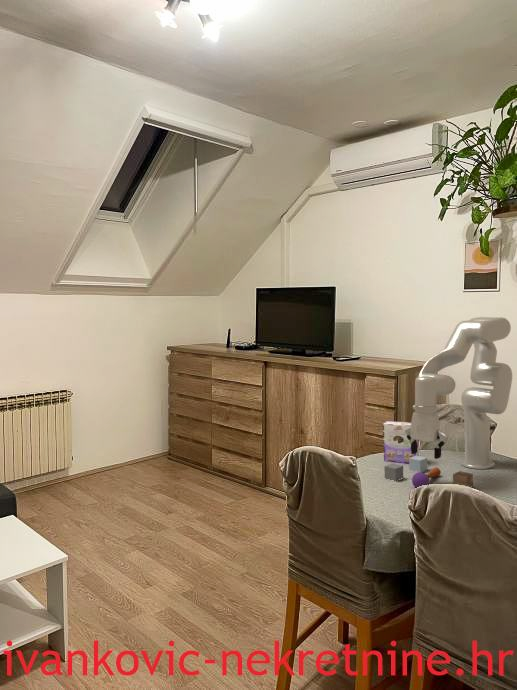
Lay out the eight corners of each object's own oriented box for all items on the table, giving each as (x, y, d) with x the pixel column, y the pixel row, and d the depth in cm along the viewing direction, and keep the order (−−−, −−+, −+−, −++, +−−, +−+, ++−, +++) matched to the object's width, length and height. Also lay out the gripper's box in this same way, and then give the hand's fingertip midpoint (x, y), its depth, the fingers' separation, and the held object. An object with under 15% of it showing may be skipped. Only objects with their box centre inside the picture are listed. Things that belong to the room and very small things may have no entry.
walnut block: (460, 484, 204) (460, 471, 203) (473, 487, 200) (473, 473, 200) (453, 487, 201) (452, 474, 200) (466, 490, 197) (465, 477, 196)
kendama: (445, 466, 213) (427, 477, 197) (442, 481, 213) (423, 493, 197) (430, 461, 216) (411, 471, 200) (427, 476, 217) (408, 487, 201)
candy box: (419, 461, 234) (418, 422, 233) (415, 464, 229) (415, 425, 228) (387, 457, 241) (386, 420, 240) (383, 461, 236) (382, 423, 235)
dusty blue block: (416, 467, 226) (416, 455, 225) (427, 470, 222) (427, 457, 222) (409, 470, 222) (409, 458, 222) (420, 473, 219) (420, 460, 218)
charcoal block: (392, 475, 217) (392, 463, 216) (403, 478, 213) (403, 465, 212) (384, 479, 213) (384, 466, 213) (395, 481, 210) (395, 468, 209)
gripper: (399, 408, 208) (399, 453, 209) (441, 414, 195) (441, 462, 196) (411, 405, 213) (411, 449, 214) (452, 411, 200) (452, 458, 201)
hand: (425, 455), depth 205 cm, fingers open, 9 cm apart
